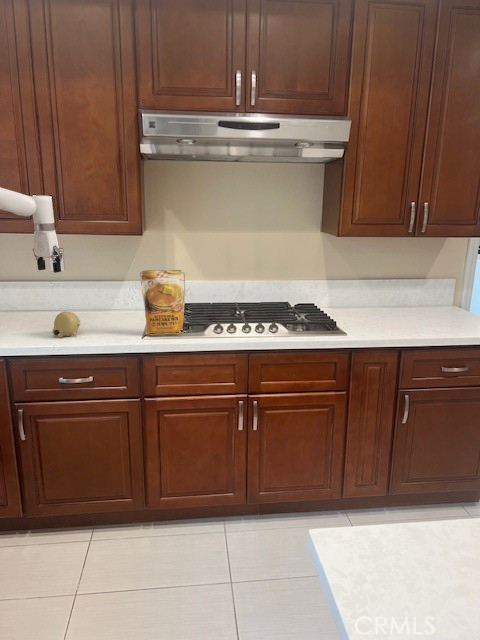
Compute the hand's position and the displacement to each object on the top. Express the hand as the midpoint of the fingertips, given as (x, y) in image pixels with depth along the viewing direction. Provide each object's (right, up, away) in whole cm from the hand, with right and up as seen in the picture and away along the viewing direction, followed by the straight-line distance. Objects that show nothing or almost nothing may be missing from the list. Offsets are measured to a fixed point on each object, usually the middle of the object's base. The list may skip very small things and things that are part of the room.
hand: (49, 271), depth 188 cm
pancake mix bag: (+44, -26, +16) cm, 53 cm away
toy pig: (+3, -27, +11) cm, 29 cm away
